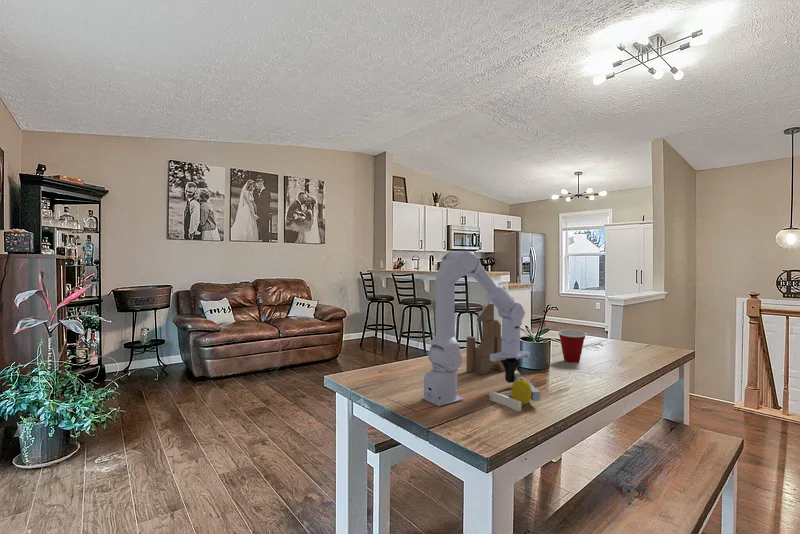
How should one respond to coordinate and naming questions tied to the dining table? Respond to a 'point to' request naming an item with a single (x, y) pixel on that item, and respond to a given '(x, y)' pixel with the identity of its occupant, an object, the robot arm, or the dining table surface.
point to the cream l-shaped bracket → (505, 399)
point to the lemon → (521, 391)
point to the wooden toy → (485, 345)
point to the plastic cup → (572, 344)
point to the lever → (535, 392)
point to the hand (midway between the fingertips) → (509, 381)
